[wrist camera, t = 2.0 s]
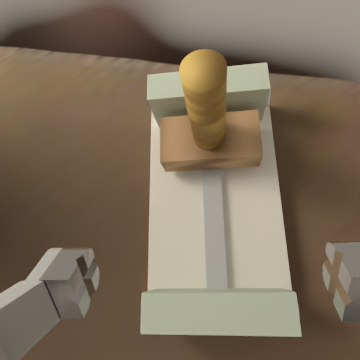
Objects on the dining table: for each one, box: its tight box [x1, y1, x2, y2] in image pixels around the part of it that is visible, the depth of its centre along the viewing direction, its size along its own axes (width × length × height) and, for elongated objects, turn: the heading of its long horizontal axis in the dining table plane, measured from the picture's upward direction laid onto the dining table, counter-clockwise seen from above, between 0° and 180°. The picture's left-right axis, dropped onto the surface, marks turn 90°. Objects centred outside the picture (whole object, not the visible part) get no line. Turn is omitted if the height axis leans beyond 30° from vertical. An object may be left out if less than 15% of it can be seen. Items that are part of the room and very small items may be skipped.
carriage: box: [160, 49, 263, 172], centre depth 25 cm, size 10×5×13 cm, turn 91°
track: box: [140, 63, 302, 337], centre depth 29 cm, size 14×24×8 cm, turn 1°
